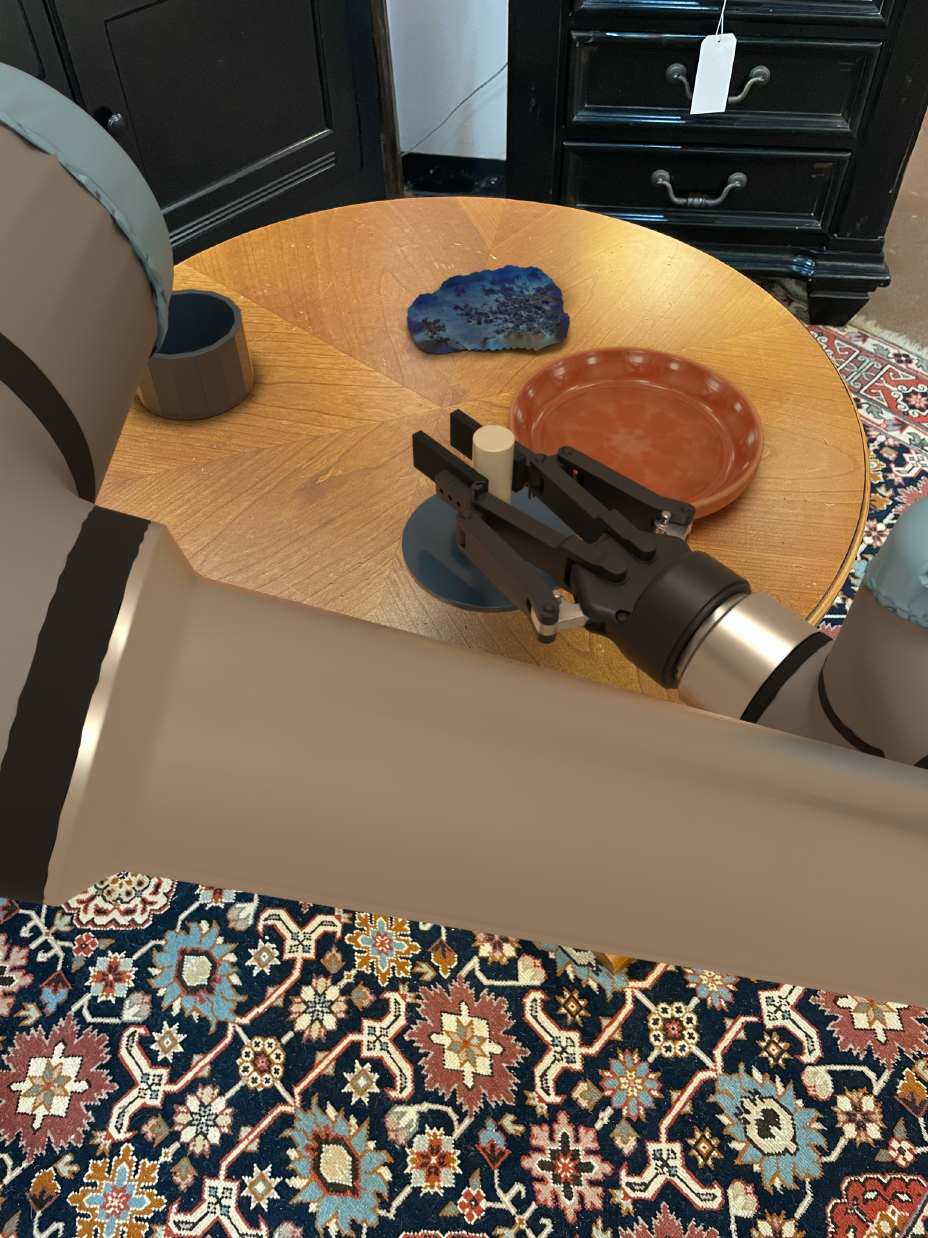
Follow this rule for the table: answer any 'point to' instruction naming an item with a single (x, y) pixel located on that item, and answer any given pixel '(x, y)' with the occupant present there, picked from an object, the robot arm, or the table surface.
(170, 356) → the pot
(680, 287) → the table surface
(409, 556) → the lid
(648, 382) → the saucer
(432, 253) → the table surface
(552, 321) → the rock
